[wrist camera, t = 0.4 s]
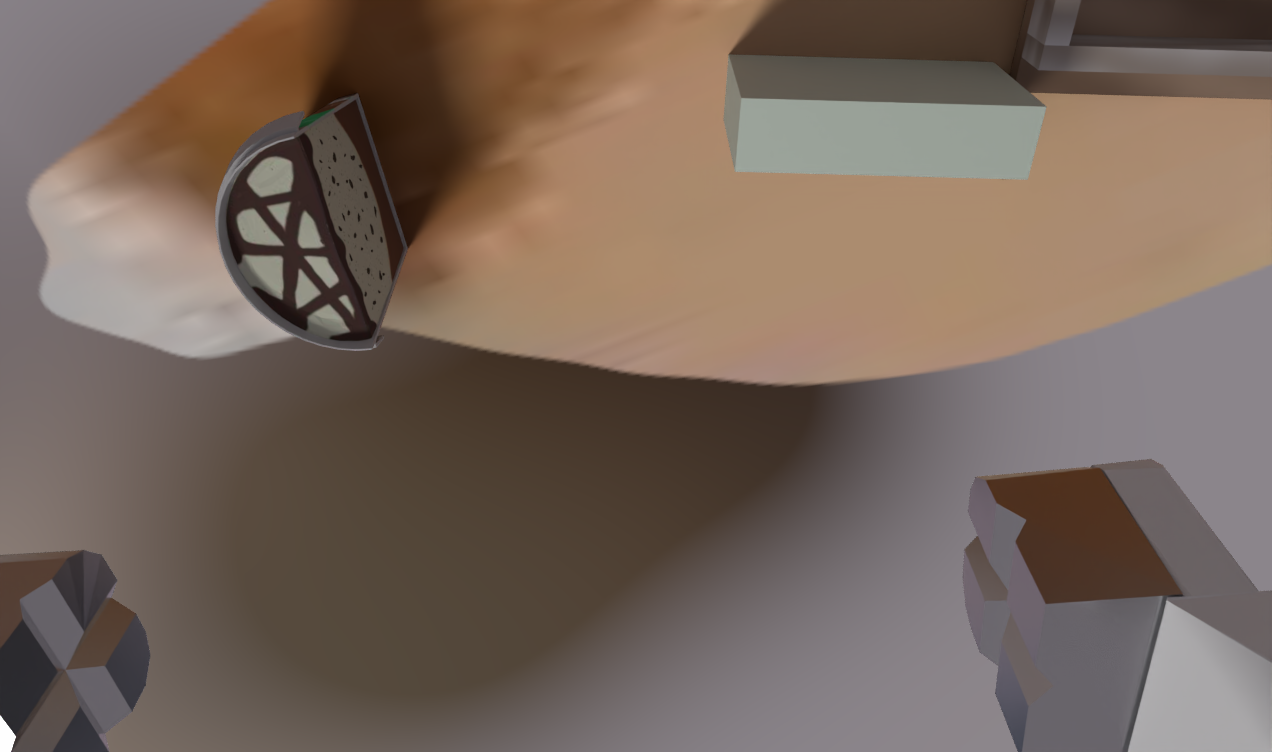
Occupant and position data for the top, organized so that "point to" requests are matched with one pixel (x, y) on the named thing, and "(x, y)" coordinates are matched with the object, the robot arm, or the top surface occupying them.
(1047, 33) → the grey rectangular tray
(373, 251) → the food container
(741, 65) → the pale green rectangular block
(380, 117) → the top surface
